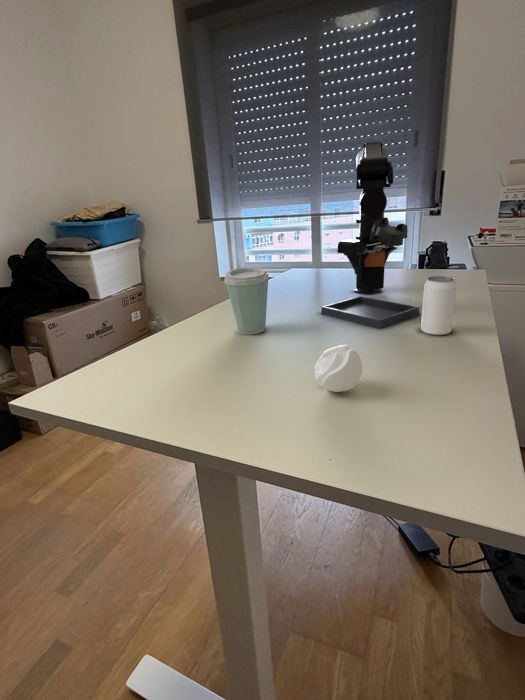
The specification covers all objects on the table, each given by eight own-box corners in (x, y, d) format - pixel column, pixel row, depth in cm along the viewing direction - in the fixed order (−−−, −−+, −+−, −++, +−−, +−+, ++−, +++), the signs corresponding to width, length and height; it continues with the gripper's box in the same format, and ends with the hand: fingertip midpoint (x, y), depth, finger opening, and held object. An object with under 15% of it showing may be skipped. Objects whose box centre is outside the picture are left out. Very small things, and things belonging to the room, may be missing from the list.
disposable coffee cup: (280, 331, 99) (277, 269, 94) (241, 341, 94) (236, 276, 89) (258, 321, 108) (254, 265, 102) (222, 330, 103) (215, 271, 97)
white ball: (311, 381, 72) (310, 340, 69) (353, 377, 72) (354, 336, 69) (320, 402, 64) (320, 357, 62) (367, 398, 65) (369, 353, 62)
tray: (321, 313, 111) (321, 306, 110) (359, 302, 120) (359, 295, 119) (379, 328, 96) (380, 320, 95) (418, 314, 105) (419, 307, 104)
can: (455, 329, 92) (461, 277, 88) (445, 337, 88) (450, 282, 84) (427, 325, 96) (431, 274, 92) (415, 332, 92) (419, 280, 88)
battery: (383, 289, 103) (385, 248, 99) (356, 289, 104) (356, 249, 101) (383, 285, 106) (385, 246, 103) (357, 285, 108) (357, 247, 105)
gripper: (373, 217, 88) (371, 288, 93) (424, 210, 98) (419, 275, 103) (335, 217, 96) (335, 282, 102) (385, 211, 106) (383, 270, 112)
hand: (369, 277), depth 105 cm, fingers closed on battery, 7 cm apart
